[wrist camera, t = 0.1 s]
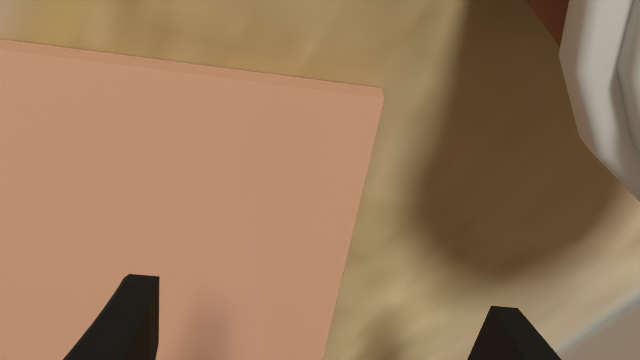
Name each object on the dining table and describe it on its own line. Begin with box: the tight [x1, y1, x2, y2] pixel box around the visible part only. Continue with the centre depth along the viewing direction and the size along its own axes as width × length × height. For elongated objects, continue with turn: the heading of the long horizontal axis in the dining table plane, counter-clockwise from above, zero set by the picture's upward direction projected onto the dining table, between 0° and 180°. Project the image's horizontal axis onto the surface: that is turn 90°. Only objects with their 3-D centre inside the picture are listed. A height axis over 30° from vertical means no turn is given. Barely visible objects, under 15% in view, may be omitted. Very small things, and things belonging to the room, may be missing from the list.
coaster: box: [0, 39, 385, 360], centre depth 24 cm, size 16×16×1 cm
